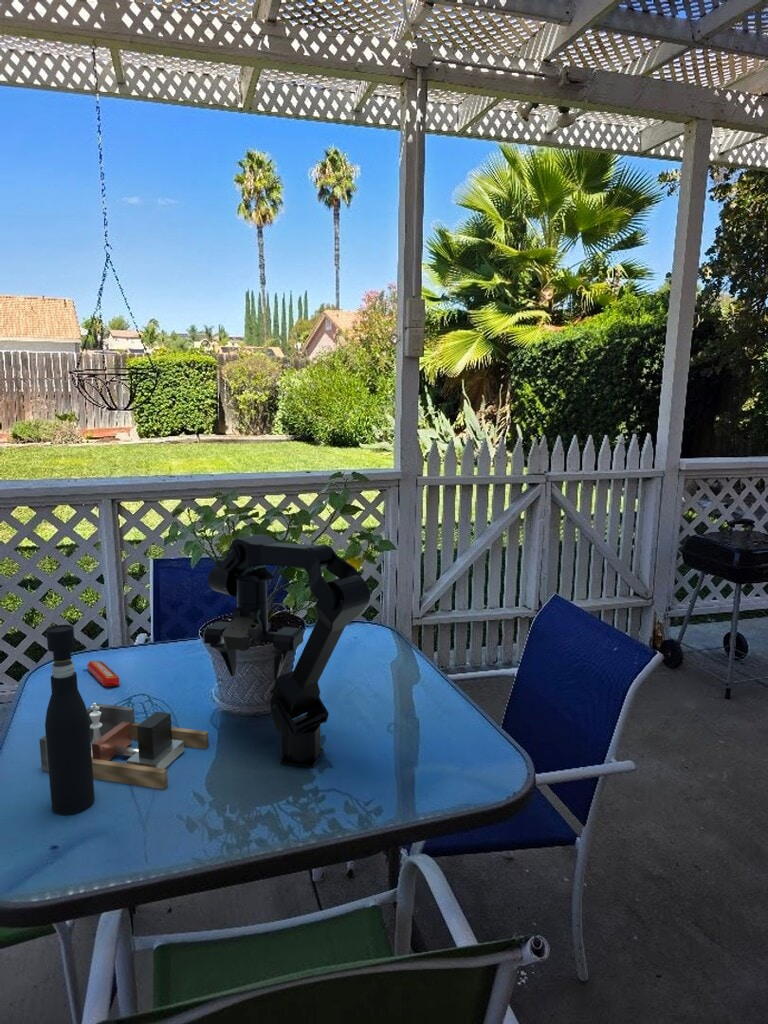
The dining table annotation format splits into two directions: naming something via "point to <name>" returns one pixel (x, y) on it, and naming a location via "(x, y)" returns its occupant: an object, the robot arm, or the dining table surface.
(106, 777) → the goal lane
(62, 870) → the dining table surface
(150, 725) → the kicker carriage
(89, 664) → the candy bar
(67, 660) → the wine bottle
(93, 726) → the chess piece
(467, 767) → the dining table surface
